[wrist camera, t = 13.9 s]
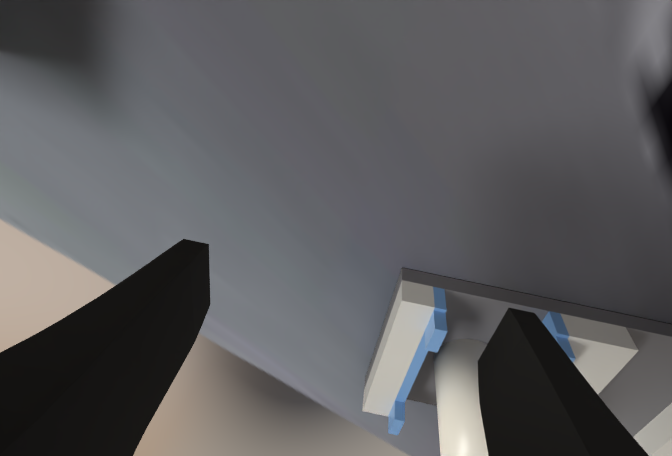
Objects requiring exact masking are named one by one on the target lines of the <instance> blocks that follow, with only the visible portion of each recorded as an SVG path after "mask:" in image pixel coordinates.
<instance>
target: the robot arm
mask: <svg viewBox="0 0 672 456" xmlns="http://www.w3.org/2000/svg"><path fill="white" fill-rule="evenodd" d="M209 306H210V278H209V244H205V243H200V242H196V241H191V240H186V239H183V240H181V241H180V242H178V243H177V244H175V245H174V246H172V247H171V248H169V249H168V250H167V251H165V252H164V253H162V254H161V255H160V256H158V257H157V258H155V259H154V260H152V261H151V262H150V263H148V264H147V265H145V266H144V267H142V268H141V269H140V270H138V271H137V272H135V273H134V274H132V275H131V276H129V277H128V278H126V279H125V280H123V281H122V282H120V283H119V284H117V285H116V286H114V287H113V288H111V289H110V290H108V291H107V292H106V293H104V294H102V295H101V296H99V297H98V298H96V299H94V300H93V301H91V302H89V303H88V304H86V305H85V306H83V307H81V308H80V309H78V310H76V311H75V312H73V313H71V314H70V315H68V316H67V317H65V318H63V319H62V320H60V321H58V322H57V323H55V324H53V325H51V326H49V327H48V328H46V329H44V330H42V331H41V332H39V333H37V334H35V335H33V336H32V337H30V338H28V339H26V340H24V341H22V342H20V343H18V344H16V345H14V346H12V347H10V348H8V349H6V350H5V351H3V352H1V353H0V456H133V454H134V452H135V450H136V448H137V446H138V444H139V442H140V440H141V438H142V436H143V434H144V432H145V430H146V428H147V426H148V425H149V423H150V421H151V419H152V417H153V416H154V414H155V412H156V410H157V409H158V407H159V405H160V403H161V402H162V400H163V398H164V396H165V394H166V393H167V391H168V389H169V387H170V385H171V384H172V382H173V380H174V378H175V377H176V375H177V373H178V371H179V370H180V368H181V366H182V364H183V362H184V361H185V359H186V357H187V355H188V353H189V352H190V350H191V348H192V346H193V344H194V342H195V340H196V338H197V335H198V333H199V331H200V328H201V326H202V324H203V321H204V319H205V316H206V314H207V311H208V309H209ZM478 387H479V403H480V409H481V415H482V421H483V427H484V433H485V439H486V444H487V450H488V455H489V456H649V455H648V454H647V453H646V452H645V450H644V449H643V448H642V447H641V446H640V445H639V443H638V442H637V441H636V440H635V439H634V438H633V436H632V435H631V434H630V433H629V432H628V431H627V430H626V428H625V427H624V426H623V425H622V424H621V423H620V421H619V420H618V419H617V418H616V416H615V415H614V414H613V413H612V412H611V410H610V409H609V408H608V407H607V406H606V404H605V403H604V402H603V401H602V399H601V398H600V397H599V396H598V394H597V393H596V392H595V391H594V389H593V388H592V387H591V385H590V384H589V383H588V382H587V380H586V379H585V378H584V376H583V375H582V374H581V373H580V371H579V370H578V369H577V367H576V366H575V365H574V363H573V362H572V361H571V360H570V358H569V357H568V356H567V354H566V353H565V352H564V350H563V349H562V348H561V346H560V345H559V344H558V342H557V341H556V340H555V338H554V337H553V336H552V334H551V333H550V332H549V331H548V329H547V328H546V327H545V325H544V324H543V323H542V321H541V320H540V319H539V318H538V317H537V315H536V314H535V313H533V312H528V311H523V310H518V309H514V308H508V310H507V311H506V313H505V315H504V316H503V318H502V320H501V322H500V323H499V325H498V327H497V329H496V330H495V332H494V334H493V335H492V337H491V339H490V341H489V342H488V344H487V346H486V348H485V349H484V351H483V353H482V355H481V356H480V358H479V360H478Z"/></svg>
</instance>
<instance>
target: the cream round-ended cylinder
mask: <svg viewBox="0 0 672 456" xmlns="http://www.w3.org/2000/svg"><path fill="white" fill-rule="evenodd" d="M486 346H487V344H486V343H484V342H481V341H478V340H472V339H459V340H454V341H450V342H448V343H445V344H444V345H442V346H441V347H440V348H439V350H438V353H436V352H435V354H434V371H435V385H436V398H437V412H438V426H439V439H440V453H441V456H489V455H488V450H487V444H486V439H485V433H484V427H483V421H482V415H481V409H480V403H479V387H478V360H479V358H480V356H481V355H482V353H483V351H484V349H485V348H486Z"/></svg>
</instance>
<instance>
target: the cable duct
mask: <svg viewBox="0 0 672 456" xmlns="http://www.w3.org/2000/svg"><path fill="white" fill-rule="evenodd" d="M508 308H514V309H518V310H523V311H528V312H533V313H535V314H536V315H537V317H538V318H539V319H540V320H541V321H542V323H543V324H544V325H545V327H546V328H547V329H548V331H549V332H550V333H551V334H552V336H553V337H554V338H555V340H556V341H557V342H558V344H559V345H560V346H561V348H562V349H563V350H564V352H565V353H566V354H567V356H568V357H569V358H570V360H571V361H572V362H573V363H574V365H575V366H576V367H577V369H578V370H579V371H580V373H581V374H582V375H583V376H584V378H585V379H586V380H587V382H588V383H589V384H590V385H591V387H592V388H593V389H594V391H595V392H596V393H597V394H598V396H599V397H600V398H601V399H602V401H603V402H604V403H605V404H606V406H607V407H608V408H609V409H610V410H611V412H612V413H613V414H614V415H615V416H616V418H617V419H618V420H619V421H620V423H621V424H622V425H623V426H624V427H625V428H626V430H627V431H628V432H629V433H630V434H631V435H632V436H633V438H634V439H635V440H636V441H637V442H638V443H639V445H640V446H641V447H642V448H643V449H644V450H645V452H646V453H647V454H648V455H649V456H672V324H668V323H663V322H658V321H653V320H649V319H644V318H639V317H634V316H630V315H625V314H620V313H615V312H611V311H606V310H601V309H596V308H592V307H587V306H582V305H577V304H573V303H568V302H563V301H558V300H553V299H549V298H544V297H539V296H534V295H530V294H525V293H520V292H515V291H511V290H506V289H501V288H496V287H492V286H487V285H482V284H477V283H473V282H468V281H463V280H458V279H453V278H449V277H444V276H439V275H434V274H430V273H425V272H420V271H415V270H411V269H406V268H402V269H401V272H400V275H399V278H398V281H397V284H396V287H395V290H394V293H393V296H392V299H391V302H390V305H389V308H388V311H387V314H386V317H385V320H384V323H383V326H382V329H381V332H380V335H379V338H378V341H377V344H376V347H375V350H374V353H373V356H372V359H371V362H370V365H369V368H368V371H367V374H366V377H365V387H364V399H363V410H362V411H365V412H370V413H375V414H379V415H384V416H388V417H389V425H388V433H390V434H394V435H398V434H399V432H400V430H401V428H402V426H403V424H404V422H405V401H406V399H409V400H413V401H418V402H423V403H427V404H432V405H437V398H436V385H435V371H434V354H435V352H436V353H438V350H439V348H440V347H441V346H442V345H444V344H445V343H448V342H450V341H454V340H459V339H472V340H478V341H481V342H484V343H486V344H488V342H489V341H490V339H491V337H492V335H493V334H494V332H495V330H496V329H497V327H498V325H499V323H500V322H501V320H502V318H503V316H504V315H505V313H506V311H507V310H508Z"/></svg>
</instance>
